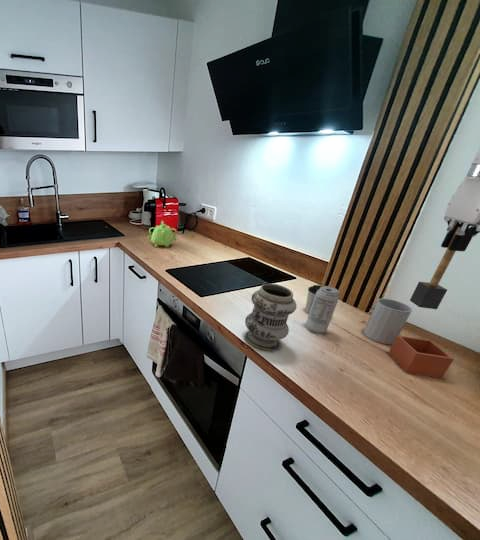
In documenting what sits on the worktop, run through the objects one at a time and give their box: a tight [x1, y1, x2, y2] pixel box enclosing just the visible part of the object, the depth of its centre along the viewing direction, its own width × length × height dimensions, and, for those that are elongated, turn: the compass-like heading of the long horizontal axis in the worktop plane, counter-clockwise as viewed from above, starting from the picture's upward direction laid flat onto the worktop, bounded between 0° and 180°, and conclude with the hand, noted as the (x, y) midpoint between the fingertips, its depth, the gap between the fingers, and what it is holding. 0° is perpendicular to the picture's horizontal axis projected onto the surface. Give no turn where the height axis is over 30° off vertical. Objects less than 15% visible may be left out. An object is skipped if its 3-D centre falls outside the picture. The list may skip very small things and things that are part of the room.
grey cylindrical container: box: [363, 297, 413, 345], centre depth 90 cm, size 8×8×12 cm
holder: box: [387, 335, 455, 379], centre depth 79 cm, size 8×8×6 cm
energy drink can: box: [305, 285, 340, 334], centre depth 93 cm, size 6×6×15 cm
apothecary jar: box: [244, 283, 297, 352], centre depth 85 cm, size 12×12×18 cm
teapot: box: [147, 220, 178, 248], centre depth 172 cm, size 16×14×13 cm
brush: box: [409, 227, 461, 310], centre depth 75 cm, size 4×4×22 cm
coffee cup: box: [304, 284, 322, 314], centre depth 104 cm, size 7×7×10 cm
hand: (452, 248), depth 72 cm, fingers closed on brush
